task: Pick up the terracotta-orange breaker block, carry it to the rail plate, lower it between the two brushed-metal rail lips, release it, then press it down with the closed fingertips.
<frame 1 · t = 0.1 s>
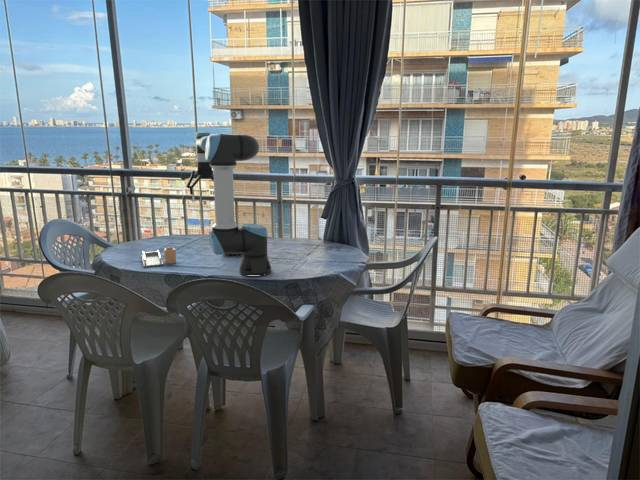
hand: (206, 200, 243), 28 cm above the table, fingers open, 13 cm apart
rail: (152, 261, 225), on the table
module: (170, 262, 224), on the table
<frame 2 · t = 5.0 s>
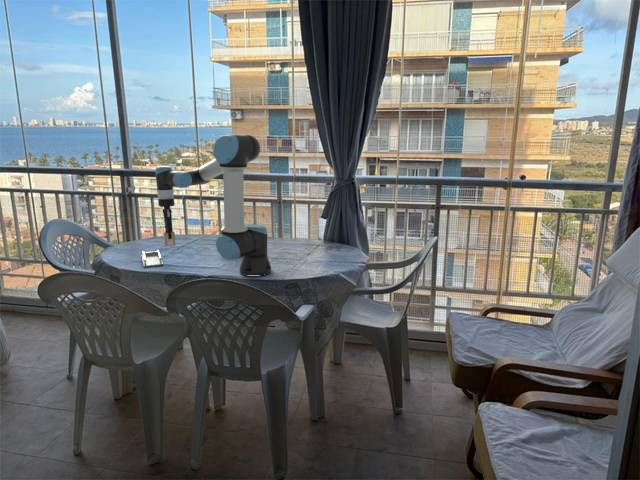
hand: (169, 243, 222), 10 cm above the table, fingers closed on module, 4 cm apart
module: (169, 244, 222), point 9 cm above the table, touching gripper
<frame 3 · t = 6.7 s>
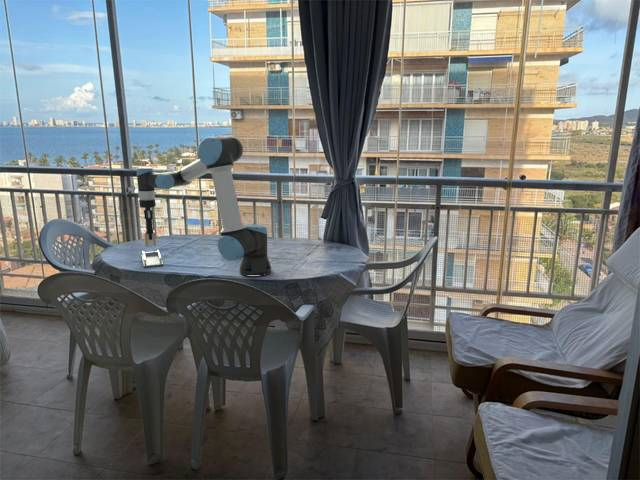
hand: (150, 244, 223), 9 cm above the table, fingers closed on module, 4 cm apart
module: (150, 245, 223), point 8 cm above the table, touching gripper
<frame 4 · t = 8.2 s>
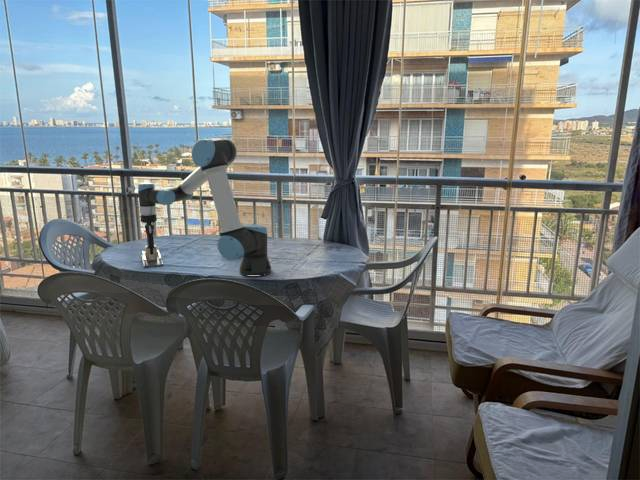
hand: (151, 258, 225), 1 cm above the table, fingers closed on module, 4 cm apart
module: (151, 259, 225), point 1 cm above the table, touching gripper, rail
when the fingers open (1 cm above the table, at t = 8.7 s): module stays where it is, resting on rail.
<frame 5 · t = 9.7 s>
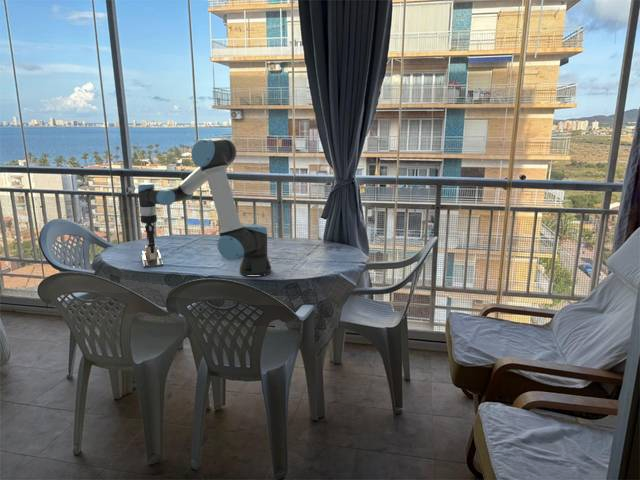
hand: (151, 255, 224), 3 cm above the table, fingers open, 13 cm apart
module: (151, 259, 225), point 1 cm above the table, touching rail
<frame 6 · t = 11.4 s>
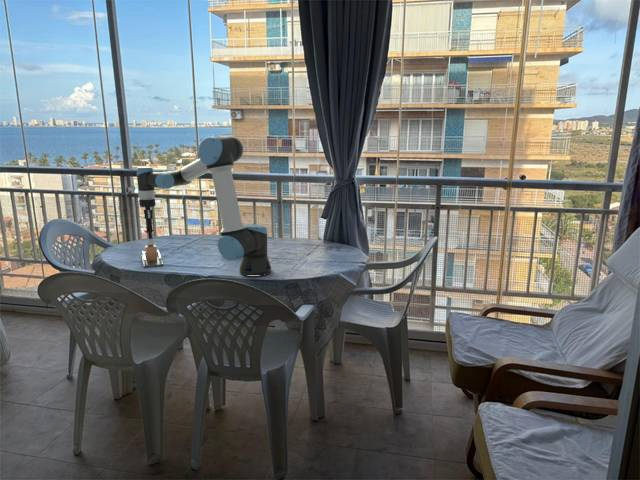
hand: (150, 244, 223), 9 cm above the table, fingers closed
module: (151, 259, 225), point 1 cm above the table, touching gripper, rail
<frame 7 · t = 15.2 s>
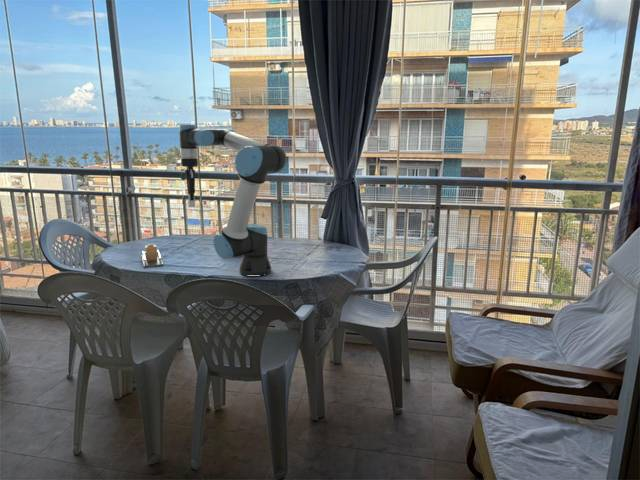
hand: (192, 206, 214), 29 cm above the table, fingers closed
module: (151, 259, 225), point 1 cm above the table, touching rail
at the end: module inside the target area on the rail (0.2 cm from its centre), point 1.0 cm above the rail's base; module tilted 0°; the gripper is holding nothing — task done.
